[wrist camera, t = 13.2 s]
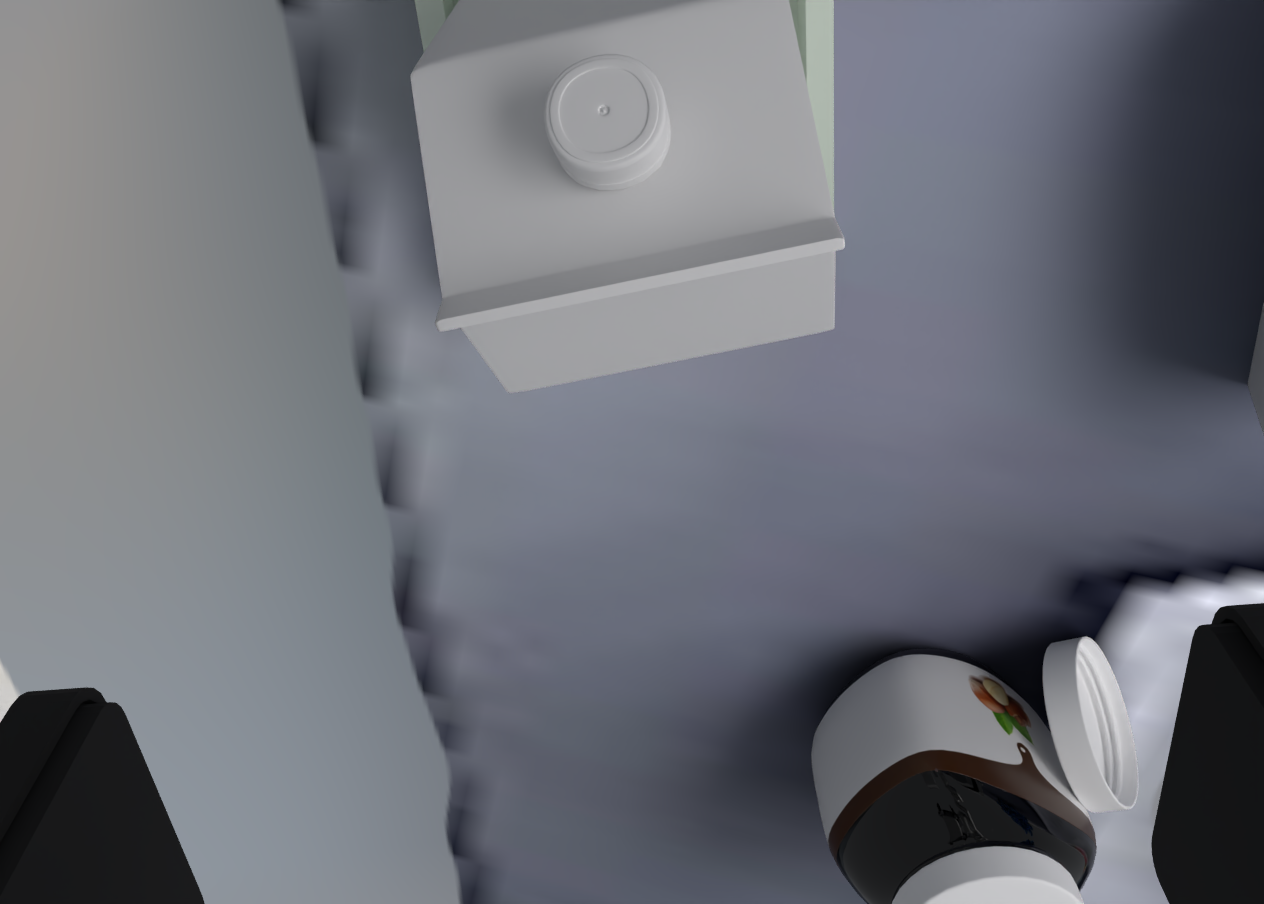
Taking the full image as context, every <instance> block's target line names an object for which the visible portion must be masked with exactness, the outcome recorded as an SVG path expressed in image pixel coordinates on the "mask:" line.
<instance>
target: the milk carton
mask: <svg viewBox="0 0 1264 904" xmlns="http://www.w3.org/2000/svg"><path fill="white" fill-rule="evenodd" d="M410 77H411V85H412V92H413V100H414V107H415V113H416V120H417V127H418V134H419V141H420V148H421V155H422V162H423V169H424V176H425V183H426V190H427V197H428V204H429V211H430V217H431V224H432V231H433V238H434V245H435V252H436V259H437V266H438V273H439V280H440V287H441V294H442V302H441V305H440V308H439V311H438V314H437V317H436V320H435V324H436V327H437V329H438V331H440V332H442V331H447V330H452V329H457V328H461V329H462V331H463V332H464V333H465V335H466V336H467V337H468V339H469V340H470V342H471V343H472V344H473V346H474V347H475V348H476V350H477V351H478V353H479V354H480V355H481V357H482V358H483V359H484V361H485V362H486V364H487V365H488V366H489V368H490V369H491V370H492V372H493V373H494V374H495V376H496V377H497V379H498V380H499V381H500V383H501V384H502V385H503V387H504V388H505V390H506V391H507V392H508V393H517V392H523V391H529V390H534V389H539V388H544V387H549V386H555V385H560V384H565V383H570V382H575V381H580V380H585V379H590V378H595V377H600V376H605V375H610V374H615V373H620V372H625V371H630V370H635V369H640V368H645V367H650V366H655V365H661V364H666V363H671V362H676V361H681V360H686V359H691V358H696V357H701V356H706V355H711V354H716V353H721V352H726V351H731V350H736V349H741V348H746V347H751V346H756V345H761V344H766V343H771V342H776V341H781V340H786V339H791V338H796V337H801V336H806V335H811V334H816V333H820V332H825V331H829V330H832V329H834V322H835V251H837V250H842V249H844V247H845V241H844V236H843V234H842V232H841V230H840V228H839V226H838V223H837V221H836V219H835V215H834V211H833V206H832V201H831V197H830V192H829V187H828V183H827V178H826V173H825V168H824V164H823V159H822V154H821V150H820V145H819V140H818V135H817V131H816V126H815V121H814V117H813V112H812V107H811V102H810V98H809V93H808V88H807V84H806V79H805V74H804V69H803V65H802V60H801V55H800V51H799V46H798V41H797V36H796V32H795V27H794V22H793V17H792V13H791V8H790V3H789V0H459V1H458V3H457V4H456V6H455V7H454V9H453V10H452V12H451V13H450V15H449V16H448V18H447V19H446V21H445V22H444V24H443V25H442V26H441V28H440V29H439V31H438V32H437V34H436V35H435V37H434V38H433V40H432V41H431V43H430V44H429V46H428V47H427V49H426V50H425V52H424V53H423V55H422V56H421V58H420V59H419V61H418V62H417V64H416V66H415V67H414V69H413V71H412V73H411V75H410Z"/></svg>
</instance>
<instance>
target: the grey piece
mask: <svg viewBox="0 0 1264 904" xmlns="http://www.w3.org/2000/svg"><path fill="white" fill-rule="evenodd" d="M1248 388H1249V391H1250V394H1251V397H1252V400H1253V404H1254V407H1255V410H1256V413H1257V416H1258V419H1259V422H1260V425H1261V428H1262V431H1263V434H1264V303H1263V308H1262V314H1261V319H1260V324H1259V329H1258V334H1257V339H1256V344H1255V349H1254V354H1253V359H1252V364H1251V369H1250V374H1249V379H1248Z"/></svg>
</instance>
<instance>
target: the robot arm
mask: <svg viewBox="0 0 1264 904" xmlns="http://www.w3.org/2000/svg"><path fill="white" fill-rule="evenodd" d="M1152 856H1153V862H1154V867H1155V870H1156V874H1157V877H1158V879H1159V882H1160V885H1161V887H1162V889H1163V891H1164V893H1165V895H1166V897H1167V900H1168V902H1169V904H1264V603H1261V604H1247V605H1233V606H1225V607H1221V608H1220V609H1219V610H1218V611H1217V612H1216V613H1215V616H1214V619H1213V621H1212V624H1209V625H1201V626H1199V627H1198V628H1197V629H1196V630H1195V633H1194V636H1193V639H1192V644H1191V649H1190V653H1189V658H1188V663H1187V668H1186V673H1185V678H1184V683H1183V688H1182V693H1181V698H1180V702H1179V707H1178V712H1177V717H1176V722H1175V727H1174V732H1173V737H1172V742H1171V747H1170V751H1169V756H1168V761H1167V766H1166V771H1165V776H1164V781H1163V786H1162V791H1161V796H1160V800H1159V805H1158V810H1157V815H1156V820H1155V825H1154V830H1153V835H1152ZM0 904H204V900H203V897H202V895H201V892H200V889H199V887H198V885H197V882H196V880H195V877H194V875H193V873H192V870H191V868H190V866H189V864H188V861H187V859H186V856H185V854H184V852H183V849H182V847H181V845H180V842H179V840H178V837H177V835H176V833H175V830H174V828H173V826H172V824H171V821H170V819H169V816H168V814H167V811H166V809H165V807H164V804H163V802H162V800H161V797H160V795H159V793H158V790H157V788H156V785H155V783H154V781H153V778H152V776H151V774H150V771H149V769H148V767H147V764H146V762H145V760H144V757H143V755H142V753H141V750H140V748H139V745H138V743H137V741H136V738H135V736H134V734H133V731H132V729H131V727H130V724H129V722H128V720H127V717H126V715H125V713H124V711H123V709H122V708H121V706H119V705H118V704H117V703H111V702H109V703H107V702H106V701H105V699H104V698H103V696H102V694H101V693H100V692H99V691H97V690H96V689H94V688H73V689H59V690H46V691H32V692H26V693H24V694H22V695H20V696H19V697H18V698H17V699H16V701H15V702H14V703H13V704H12V705H11V707H10V708H9V710H8V712H7V713H6V715H5V716H4V718H3V719H2V721H1V722H0Z"/></svg>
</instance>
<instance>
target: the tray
mask: <svg viewBox="0 0 1264 904" xmlns="http://www.w3.org/2000/svg"><path fill="white" fill-rule="evenodd" d="M458 1H459V0H415V6H416V11H417V17H418V23H419V29H420V34H421V40H422V46H423V52H425V50H426V49H427V47H428V46H429V44H430V43H431V41H432V40H433V38H434V37H435V35H436V34H437V32H438V31H439V29H440V28H441V26H442V25H443V24H444V22H445V21H446V19H447V18H448V16H449V15H450V13H451V12H452V10H453V9H454V7H455V6H456V4H457V3H458ZM789 3H790V8H791V13H792V17H793V22H794V27H795V32H796V36H797V41H798V46H799V51H800V55H801V60H802V65H803V69H804V74H805V79H806V84H807V88H808V93H809V98H810V102H811V107H812V112H813V117H814V121H815V126H816V131H817V135H818V140H819V145H820V150H821V154H822V159H823V164H824V168H825V173H826V178H827V183H828V187H829V192H830V197H831V201H832V206H833V211H834V0H789Z"/></svg>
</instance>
